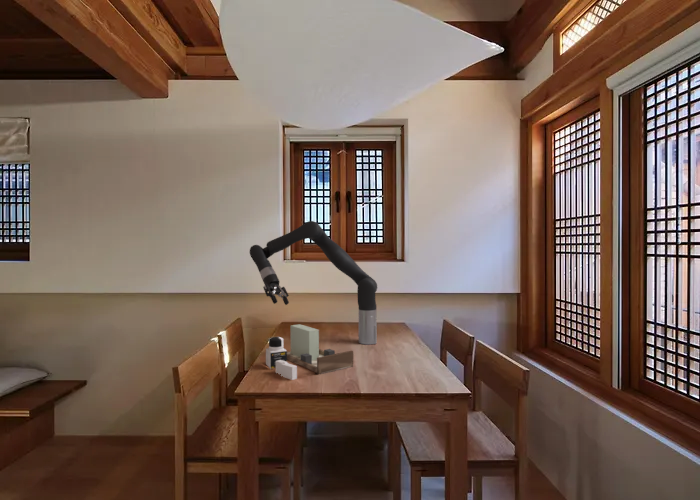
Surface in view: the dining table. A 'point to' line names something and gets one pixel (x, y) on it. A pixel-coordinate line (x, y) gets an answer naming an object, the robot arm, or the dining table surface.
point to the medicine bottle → (275, 352)
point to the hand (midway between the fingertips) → (281, 303)
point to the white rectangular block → (286, 369)
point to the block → (304, 341)
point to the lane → (325, 362)
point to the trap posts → (308, 357)
